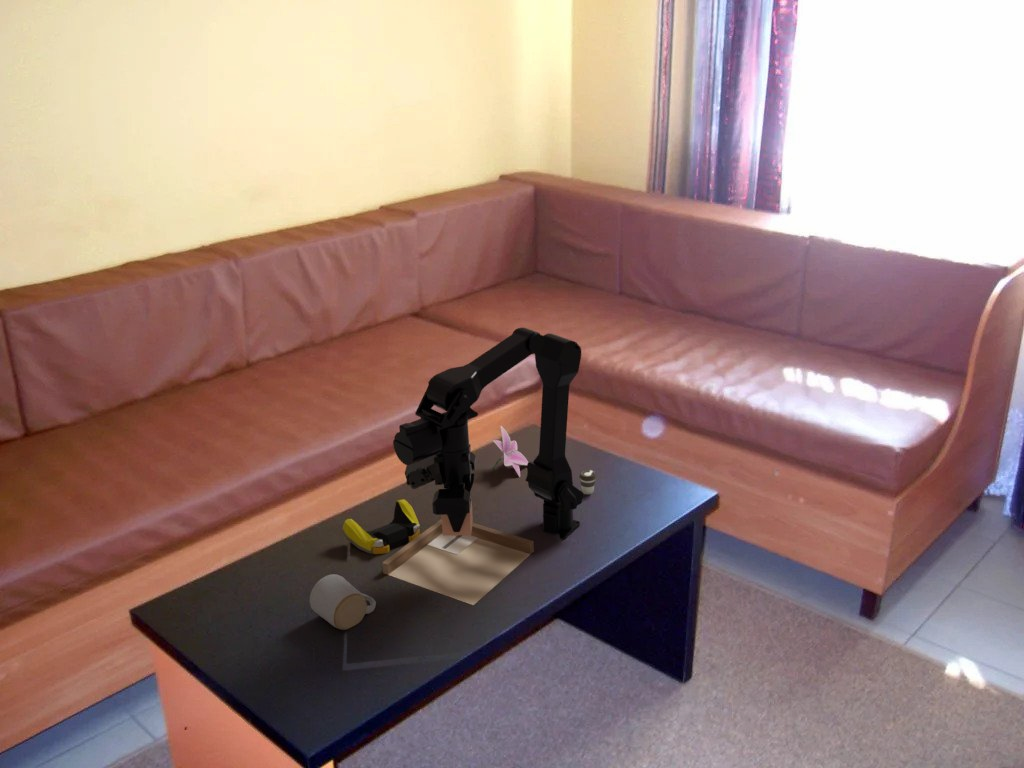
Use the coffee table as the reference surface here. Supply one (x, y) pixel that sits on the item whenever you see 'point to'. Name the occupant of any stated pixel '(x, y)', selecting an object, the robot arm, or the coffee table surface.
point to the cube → (465, 527)
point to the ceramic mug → (339, 602)
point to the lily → (510, 452)
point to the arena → (459, 561)
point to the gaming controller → (385, 531)
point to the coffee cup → (587, 481)
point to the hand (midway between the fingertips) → (457, 523)
